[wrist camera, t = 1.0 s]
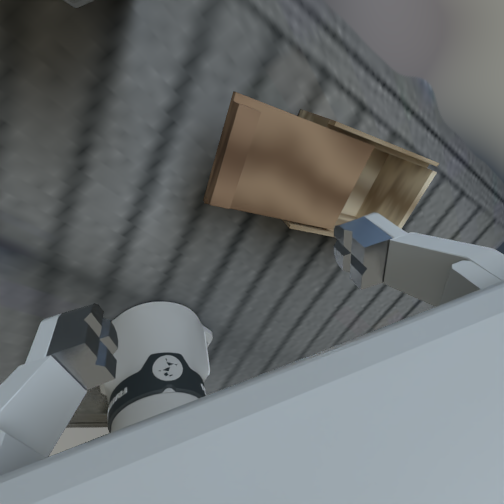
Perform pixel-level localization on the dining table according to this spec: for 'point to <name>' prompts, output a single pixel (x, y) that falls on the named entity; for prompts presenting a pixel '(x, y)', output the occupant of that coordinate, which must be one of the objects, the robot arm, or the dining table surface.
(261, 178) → the lid
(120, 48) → the dining table surface
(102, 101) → the dining table surface
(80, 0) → the coffee box
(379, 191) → the crate
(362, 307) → the dining table surface
